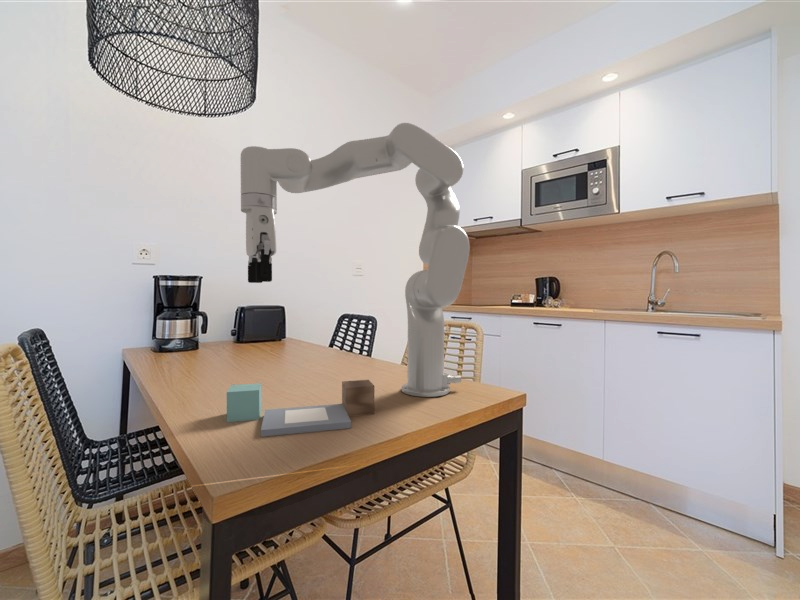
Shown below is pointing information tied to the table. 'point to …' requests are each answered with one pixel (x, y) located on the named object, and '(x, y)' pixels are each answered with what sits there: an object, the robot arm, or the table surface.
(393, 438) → the table surface
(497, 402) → the table surface
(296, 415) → the board
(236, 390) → the teal block
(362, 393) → the walnut block
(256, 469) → the table surface
